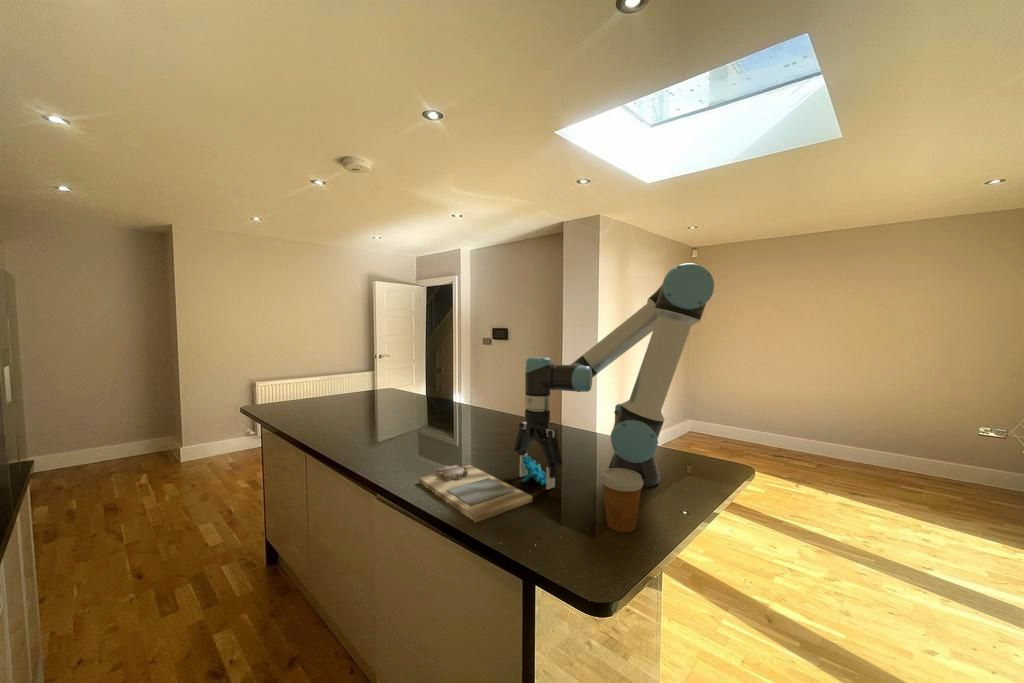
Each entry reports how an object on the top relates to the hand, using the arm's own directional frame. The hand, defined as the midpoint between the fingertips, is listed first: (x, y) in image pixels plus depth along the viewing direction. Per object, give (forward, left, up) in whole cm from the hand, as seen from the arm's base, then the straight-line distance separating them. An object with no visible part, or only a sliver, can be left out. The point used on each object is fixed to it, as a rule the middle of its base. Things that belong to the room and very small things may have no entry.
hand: (536, 481), depth 114 cm
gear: (0, 0, -1) cm, 1 cm away
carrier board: (+6, +19, 0) cm, 20 cm away
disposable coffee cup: (-31, +2, 0) cm, 31 cm away
